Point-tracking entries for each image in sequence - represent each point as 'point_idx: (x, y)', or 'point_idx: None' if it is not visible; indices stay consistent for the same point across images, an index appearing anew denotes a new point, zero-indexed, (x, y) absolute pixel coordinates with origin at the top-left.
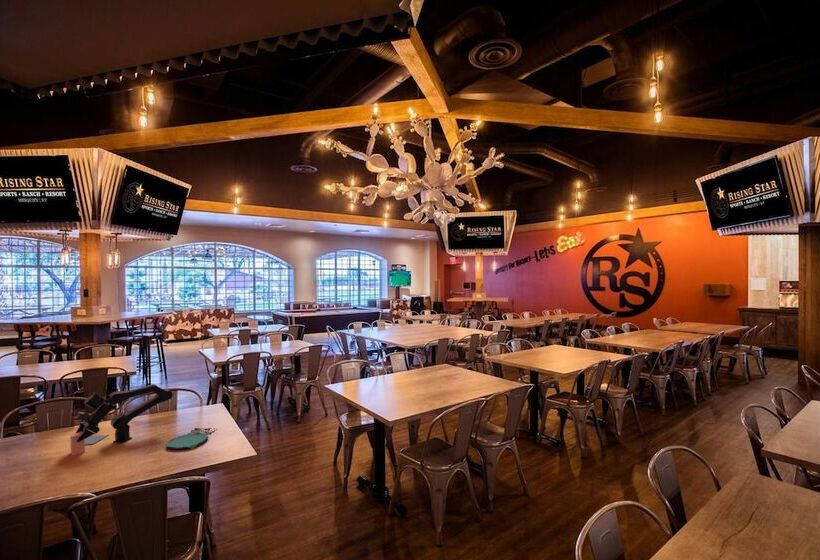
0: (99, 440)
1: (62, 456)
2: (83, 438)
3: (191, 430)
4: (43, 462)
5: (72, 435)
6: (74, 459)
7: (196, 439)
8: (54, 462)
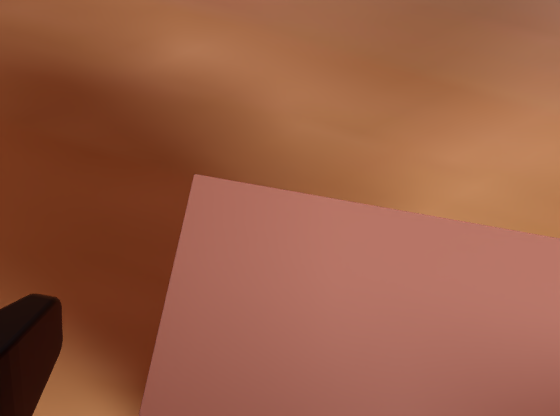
0: None
1: None
2: None
3: None
4: (340, 6)
5: (368, 245)
6: (10, 252)
7: None
8: (194, 68)
